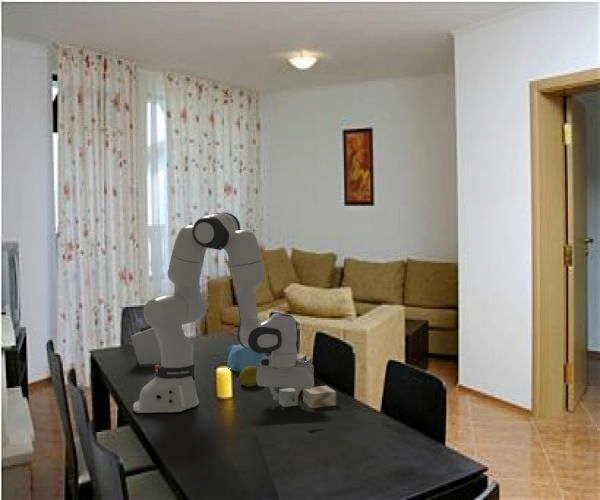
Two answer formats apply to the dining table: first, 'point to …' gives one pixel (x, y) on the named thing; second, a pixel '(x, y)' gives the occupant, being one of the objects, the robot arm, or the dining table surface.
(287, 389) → the sage cube
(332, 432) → the dining table surface
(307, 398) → the birch base block
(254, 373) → the lemon
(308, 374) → the robot arm
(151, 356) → the alarm clock
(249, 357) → the decorative pot
